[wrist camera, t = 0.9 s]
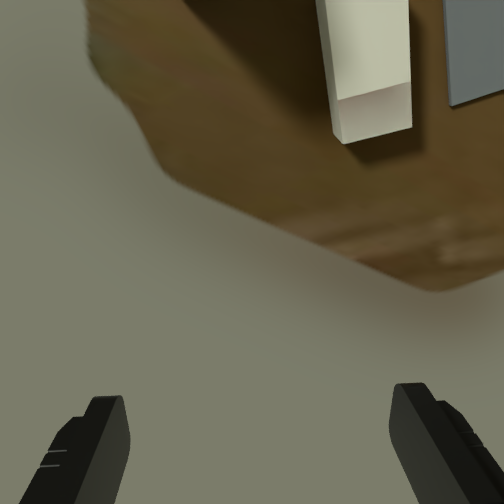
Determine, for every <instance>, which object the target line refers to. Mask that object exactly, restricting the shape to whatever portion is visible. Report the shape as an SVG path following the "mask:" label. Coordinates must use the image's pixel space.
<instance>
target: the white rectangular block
mask: <svg viewBox="0 0 504 504" xmlns="http://www.w3.org/2000/svg"><path fill="white" fill-rule="evenodd" d="M315 2H316V9H317V16H318V24H319V31H320V39H321V46H322V53H323V61H324V68H325V75H326V83H327V90H328V98H329V105H330V112H331V120H332V127H333V134H334V135H335V136H336V137H337V138H338V139H339V140H340V142H341V143H342V144H347V143H351V142H355V141H359V140H363V139H367V138H371V137H375V136H379V135H383V134H387V133H391V132H395V131H399V130H403V129H407V128H411V127H412V106H411V74H410V42H409V9H408V0H315Z"/></svg>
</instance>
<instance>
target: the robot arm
mask: <svg viewBox="0 0 504 504" xmlns="http://www.w3.org/2000/svg"><path fill="white" fill-rule="evenodd" d="M389 433H390V437H391V442H392V444H393V447H394V449H395V451H396V454H397V456H398V458H399V460H400V462H401V465H402V467H403V469H404V471H405V473H406V475H407V478H408V480H409V482H410V484H411V486H412V489H413V491H414V493H415V495H416V497H417V500H418V502H419V504H504V472H503V471H502V469H501V468H500V467H499V465H498V464H497V462H496V461H495V460H494V458H493V457H492V455H491V454H490V453H489V451H488V450H487V448H485V447H484V446H483V443H482V442H481V440H480V439H479V437H478V436H477V435H476V434H474V432H473V429H472V428H471V426H470V425H469V423H468V422H467V421H466V419H465V418H464V417H463V415H462V414H461V413H460V412H459V411H457V410H456V409H455V408H453V407H452V406H451V405H450V404H448V403H447V402H446V401H436V400H435V398H434V397H433V395H432V394H431V392H430V391H429V389H428V388H427V386H426V385H425V384H424V383H401V384H396V385H395V387H394V392H393V398H392V405H391V412H390V419H389ZM129 451H130V432H129V426H128V421H127V416H126V411H125V406H124V401H123V398H122V396H120V395H118V396H97V397H93V398H92V400H91V402H90V404H89V406H88V408H87V410H86V412H85V414H84V416H83V417H73V418H72V419H71V420H69V421H68V422H67V423H66V424H65V425H64V427H62V428H61V429H60V430H59V431H58V433H57V434H56V436H55V438H54V440H53V442H52V443H51V445H50V447H49V449H48V453H47V454H46V455H45V456H44V458H43V460H42V462H41V464H40V468H39V469H37V471H36V473H35V475H34V477H33V479H32V480H31V483H30V484H29V486H28V488H27V490H26V492H25V493H24V495H23V497H22V499H21V501H20V503H19V504H114V503H115V499H116V496H117V493H118V490H119V486H120V483H121V480H122V476H123V473H124V470H125V466H126V463H127V460H128V456H129Z"/></svg>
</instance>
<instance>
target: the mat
mask: <svg viewBox="0 0 504 504" xmlns="http://www.w3.org/2000/svg"><path fill="white" fill-rule="evenodd" d="M443 13H444V29H445V46H446V62H447V78H448V95H449V105H450V106H454V105H457V104H460V103H463V102H466V101H469V100H472V99H475V98H478V97H481V96H484V95H487V94H490V93H493V92H496V91H499V90H502V89H504V0H443Z"/></svg>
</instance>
